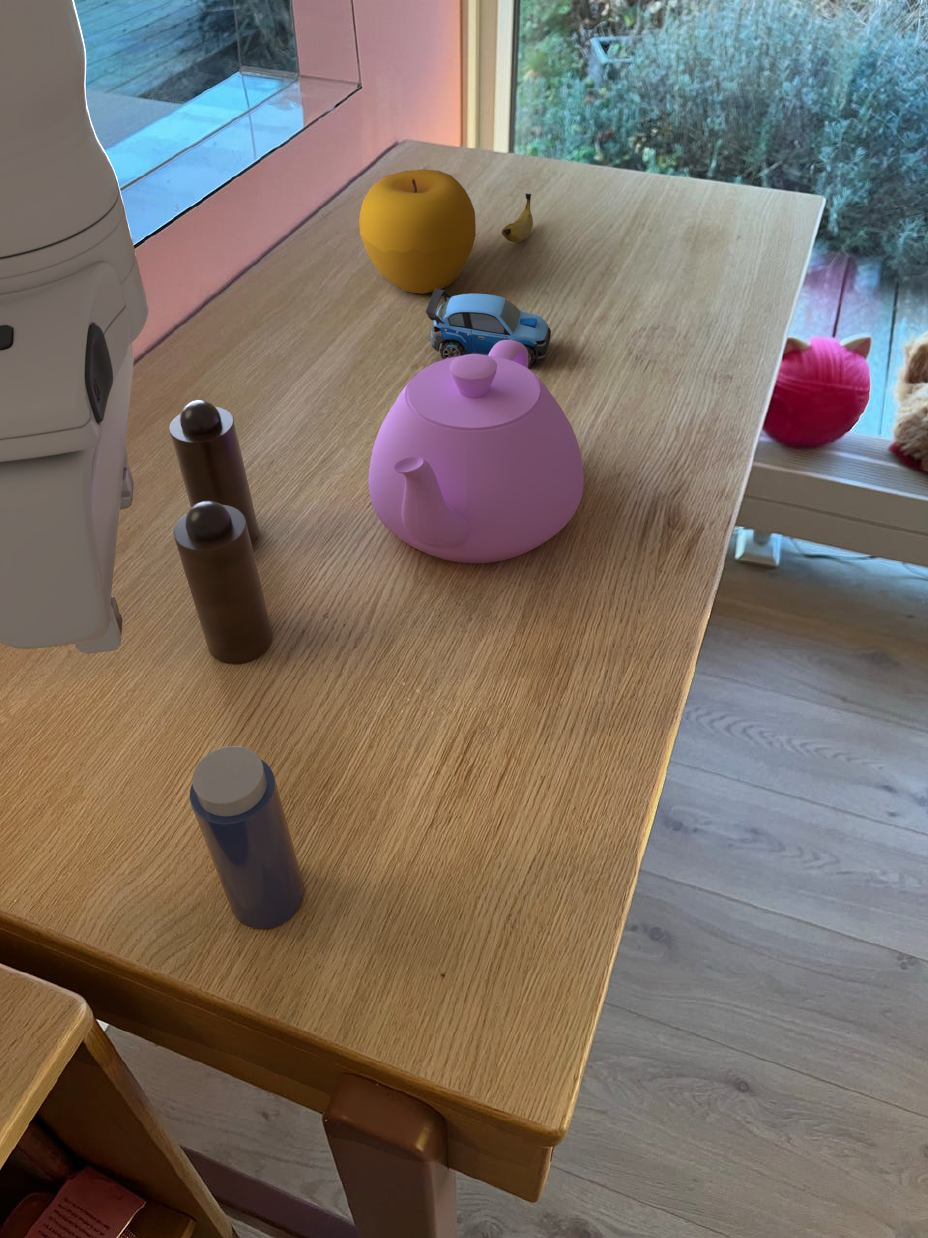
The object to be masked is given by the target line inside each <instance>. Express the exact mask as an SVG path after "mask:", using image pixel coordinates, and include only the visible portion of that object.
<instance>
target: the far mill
mask: <svg viewBox="0 0 928 1238" xmlns="http://www.w3.org/2000/svg"><path fill="white" fill-rule="evenodd" d="M235 423H236V422H235V419H234V416H233V415H232V413H231V412H230V411H228V409H225V408H223V407H219V406H215V405H214V404H212V402H210V401H207V400H203V399H195V400H192V401H189V402H188V403H187V404H185V405H184V407H183V408H182V409H181V412H180V413H179V414H178V415H176V416H175V417H174V418H173V419H172V420H171V422H170V424H169V426H168V427H169V428H168V431H169V434H170V438H171V442H172V444H173V445H172V446H173V449H174V451H175V452H174V453H175V455H176V459H177V463H178V466H179V469H180V473H181V477H182V480H183V484H184V487H185V492H186V495H187V498H188V501H189V505H190V509H191V508H192V507H193V506H194V505H195V504H197V503H199V502H202V501H214V502H217V503H219V504H221V505H227V506H231V507H233V508H236V509H237V510H239V511H240V512H241V513H242V514H243V515H244V517H245V519H246V523H247V527H248V532H249V536H250V540H251V544H252V545H253V544H254V543H255V542H256V541H257V539H258V537H259V534H260V530H259V525H258V521H257V517H256V512H255V507H254V502H253V498H252V495H251V490H250V486H249V481H248V475H247V472H246V468H245V463H244V459H243V455H242V450H241V446H240V440H239V437H238V436H239V435H238V432H237V428H236V424H235Z"/></svg>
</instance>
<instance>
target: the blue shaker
mask: <svg viewBox="0 0 928 1238" xmlns="http://www.w3.org/2000/svg"><path fill="white" fill-rule="evenodd" d="M189 802H190V806H191V808H192V810H193V813H194V816H195V818H196V822H197V824H198V827H199V829H200V832H201V835H202V837H203V840H204V842H205V845H206V847H207V850H208V853H209V855H210V857H211V860H212V862H213V865H214V868H215V870H216V873H217V876H218V879H219V880H220V883H221V886H222V889H223V891H224V894H225V896H226V899H227V901H228V904H229V906H230V909H231V912H232V915H234V917H235V919H236V920H238V922H240V923H241V924H242V925H244V926H246V927H249V928H252V929H255V930H269V929H274V928H276V927H279V926H282V925H283V924H285V923H287V922H288V921H289V920H291V919H292V918H293V917H294V916H295V915H296V914H297V913H298V911H299V910H300V908H301V906H302V904H303V902H304V898H305V890H306V889H305V883H304V880H303V876H302V871H301V869H300V865H299V862H298V857H297V854H296V851H295V847H294V846H295V845H294V843H293V839H292V835H291V832H290V828H289V825H288V821H287V818H286V813H285V810H284V807H283V803H282V799H281V796H280V792H279V787H278V785H277V781H276V777H275V773H274V772H273V769H272V768H271V767H270V765H269V764H268V763H267V762H266V761H264V760H263V759H261V757H260V756H259V754H257V753H256V752H255V751H254V750H252V749H250V748H248V747H245V746H241V745H228V746H227V745H226V746H222V747H220V748H219V747H218V748H217V749H215V750H212V751H211V752H209V753H208V754H206V755H205V756H204V757H203V758H202V759H200V761H198V763H197V765H196V766H195V768H194V770H193V773H192V778H191V785H190V790H189Z"/></svg>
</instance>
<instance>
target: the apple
mask: <svg viewBox="0 0 928 1238" xmlns="http://www.w3.org/2000/svg"><path fill="white" fill-rule="evenodd" d="M361 203H362V204H361V207H360V210H359V219H358V226H359V227H358V228H359V236H360V239H361V240H362V243H363V246H364V249H365V251H366V254H367V256H368V258H369V259H370V261H371V263H372V264H373V266H374V267H375V269H376V270H377V272H378V273H380V274H381V276H382V277H383V278H385V279H386V280H387V281H389V282H390V283H391V284H392V285H394V286H395V287H398V288H399V289H401V290H403V292H406V293H413V294H422V295H423V294H428V293H429V294H430V293H433V291H434V289H435V288H437V289H439V290H443V289H444V288H446V287H448V286H449V285H451V284H452V283H453V282H454V281H455V280H456V279H458V276H459V275H460V274H461V272H462V271H463V269H464V268H465V266H466V264H467V262H468V260H469V259H470V256H471V253H472V251H473V250H474V249H473V248H474V244H475V240H476V236H477V234H476V231H477V228H476V227H477V226H476V211H475V208H474V206H473V202H472V199H471V197H470V196H469V193H467V191H466V189H465V187H464V186H463V185H462V184H461V183H460V182H459V181H458V180H457V179H456V178H455V177H454V176H452V175H451V174H449V173H446V172H443V171H440V170H435V169H412V170H404V171H400V172H396V173H392V174H389V175H385V176H383V177H382V178H381V179H379V180H378V181H376V183H374V184H373V185H372V186H371V187H370V188H369V190H368V192H366V194H365V196H364V199H363V200H362V202H361Z"/></svg>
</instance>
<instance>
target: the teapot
mask: <svg viewBox="0 0 928 1238" xmlns="http://www.w3.org/2000/svg"><path fill="white" fill-rule="evenodd" d="M370 457H371V458H370V462H369V469H368V490H369V493H368V494H369V499H370V503H371V506H372V508H373V509H374V512H375V514H376V515H377V517H378V519H379V521H380V522H381V523H382V524H383V526H384V527H385V528H386V529H388V530H389V532H390V533H392V534H393V535H394V536H396V537H397V538H399V539H400V540H401V541H402V542H404V543H405V544H407V545H409V546H410V547H412V548H414V549H416V550H418V551H420V552H422V553H424V554H426V555H429V556H430V557H434V558H437V559H440V560H444V561H449V562H453V563H454V562H455V563H461V564H490V563H496V562H503V561H506V560H510V559H514V558H517V557H519V556H522V555H524V554H525V555H526V554H527V553H528V552H530V551H532V550H535V549H536V548H538V547H540V546H541V545H543V544H544V543H546V542H547V541H549V540H550V539H552V538H553V537H554V536H555V535H557V534H558V533H559V532H560V531H562V530H563V529H564V528H565V527H566V525H567V524H568V523H570V521H571V520H572V518H573V516H574V515H575V513H576V511H577V509H578V508H579V506H580V504H581V501H582V498H583V493H584V486H585V485H584V484H585V483H584V481H585V475H584V465H583V460H582V458H583V457H582V454H581V449H580V446H579V442H578V439H577V436H576V433H575V431H574V429H573V426H572V425H571V422H570V421H569V419H568V417H567V415H566V414H565V412H564V410H563V408H562V407H561V406H560V404H559V403H558V401H557V400H556V398H555V397H554V396H553V394H552V392H551V391H550V390H549V389H548V387H547V386H546V385H545V384H544V382H543V381H542V380H541V379H540V378H539V377H538V375H536V373H534V372H533V371H532V370H531V369H529V367H528V352H527V349H526V347H525V346H524V345H523V344H521V343H520V342H517V341H514V340H502V341H499V342H498V343H496V344H495V345H494V347H493V348H492V349H491V351H490V353H489V355H481V354H468V355H466V354H465V355H463V356H457V357H452V358H447V359H441V360H439V361H436V362H433V363H431V364H429V365H427V366H426V367H424V368H423V369H421V370H420V371H418V372H417V373H416V374H415V375H413V377H412V378H411V379H410V380H409V381H408V382H407V384H406V385H405V386H404V387H403V389H402V390H401V392H400V393H399V395H398V396H397V398H396V400H395V401H394V403H393V405H392V406H391V408H390V410H389V411H388V413H387V415H386V416H385V418H384V420H383V421H382V423H381V426H380V428H379V430H378V432H377V436H376V438H375V440H374V444H373V447H372V452H371V456H370Z"/></svg>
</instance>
